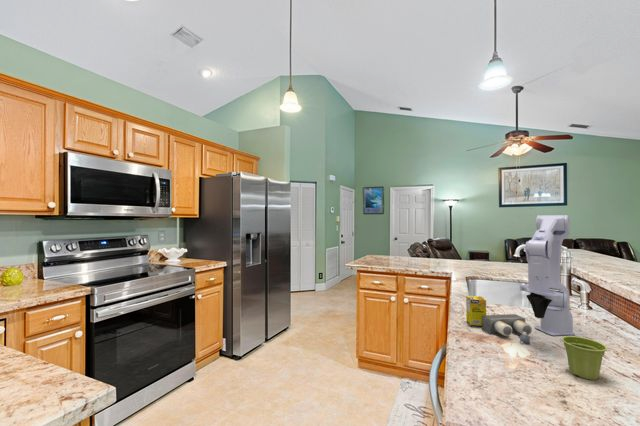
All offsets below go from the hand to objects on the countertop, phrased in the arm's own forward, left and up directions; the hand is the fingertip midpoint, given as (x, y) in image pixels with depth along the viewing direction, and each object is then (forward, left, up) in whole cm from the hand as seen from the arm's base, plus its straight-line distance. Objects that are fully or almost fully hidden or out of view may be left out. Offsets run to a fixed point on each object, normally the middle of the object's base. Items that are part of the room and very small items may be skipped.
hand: (539, 317), depth 100 cm
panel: (+2, -15, -10) cm, 18 cm away
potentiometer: (+2, -5, -10) cm, 11 cm away
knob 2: (-2, -13, -9) cm, 16 cm away
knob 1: (+5, -13, -9) cm, 17 cm away
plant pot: (+2, +16, -10) cm, 19 cm away
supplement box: (+8, -23, -10) cm, 26 cm away
